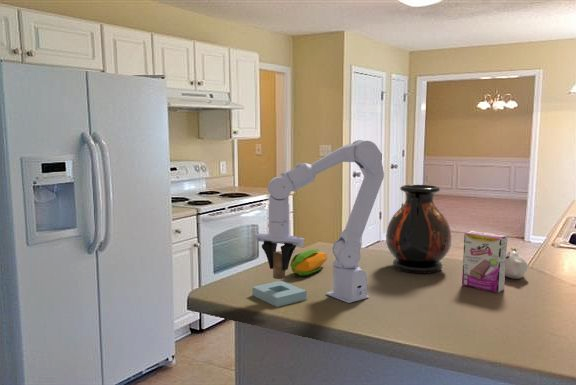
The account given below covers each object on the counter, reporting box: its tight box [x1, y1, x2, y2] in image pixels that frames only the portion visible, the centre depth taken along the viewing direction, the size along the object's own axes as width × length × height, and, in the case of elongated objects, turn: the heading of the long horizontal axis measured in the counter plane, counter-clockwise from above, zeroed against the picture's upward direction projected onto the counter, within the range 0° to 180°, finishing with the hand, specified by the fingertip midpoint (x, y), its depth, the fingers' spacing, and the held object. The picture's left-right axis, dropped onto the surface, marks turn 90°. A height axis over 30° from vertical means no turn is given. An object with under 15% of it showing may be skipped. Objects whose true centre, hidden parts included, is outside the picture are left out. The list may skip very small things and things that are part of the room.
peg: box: [272, 250, 286, 280], centre depth 141 cm, size 3×3×7 cm
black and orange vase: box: [385, 184, 452, 274], centre depth 171 cm, size 22×22×28 cm
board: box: [251, 280, 307, 308], centre depth 142 cm, size 12×10×2 cm
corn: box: [289, 248, 328, 277], centre depth 168 cm, size 7×8×20 cm
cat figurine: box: [505, 247, 529, 280], centre depth 162 cm, size 10×8×15 cm
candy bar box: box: [461, 230, 508, 294], centre depth 150 cm, size 11×5×16 cm, turn 47°
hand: (279, 268), depth 141 cm, fingers closed on peg, 3 cm apart
